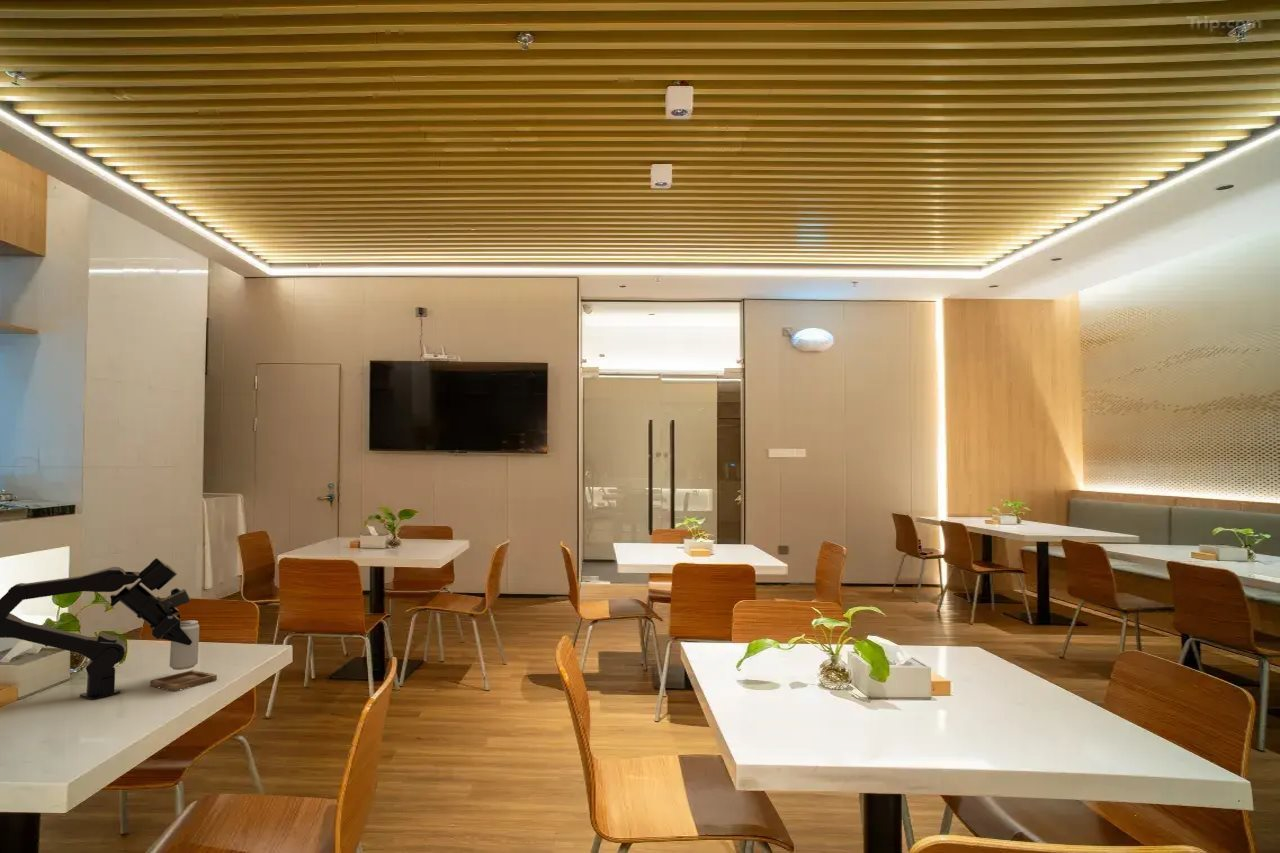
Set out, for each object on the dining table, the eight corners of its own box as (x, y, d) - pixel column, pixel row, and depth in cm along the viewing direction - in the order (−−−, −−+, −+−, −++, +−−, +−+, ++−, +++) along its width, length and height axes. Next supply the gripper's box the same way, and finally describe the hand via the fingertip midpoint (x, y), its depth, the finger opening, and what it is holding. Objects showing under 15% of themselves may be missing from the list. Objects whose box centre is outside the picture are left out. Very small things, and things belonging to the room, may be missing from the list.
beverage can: (167, 671, 188) (170, 625, 188) (170, 665, 193) (173, 620, 194) (196, 668, 191) (198, 623, 191) (198, 663, 196) (200, 618, 197)
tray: (150, 686, 189) (150, 680, 189) (192, 675, 199) (192, 670, 199) (174, 691, 184) (175, 685, 184) (216, 680, 194) (216, 674, 194)
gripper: (170, 584, 184) (217, 623, 189) (170, 576, 199) (214, 612, 204) (131, 618, 179) (180, 658, 184) (134, 607, 194) (180, 643, 200)
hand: (190, 641), depth 193 cm, fingers closed on beverage can, 6 cm apart
